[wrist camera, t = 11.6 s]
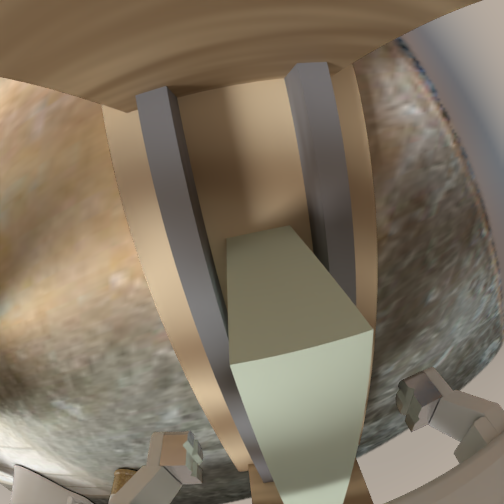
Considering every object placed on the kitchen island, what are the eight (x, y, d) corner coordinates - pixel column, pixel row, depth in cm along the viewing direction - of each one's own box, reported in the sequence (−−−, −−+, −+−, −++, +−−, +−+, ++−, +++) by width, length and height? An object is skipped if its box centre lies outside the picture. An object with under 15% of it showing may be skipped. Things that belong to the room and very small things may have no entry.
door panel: (311, 413, 15) (341, 507, 9) (272, 422, 15) (290, 520, 9) (289, 225, 11) (373, 329, 4) (226, 238, 11) (229, 365, 4)
